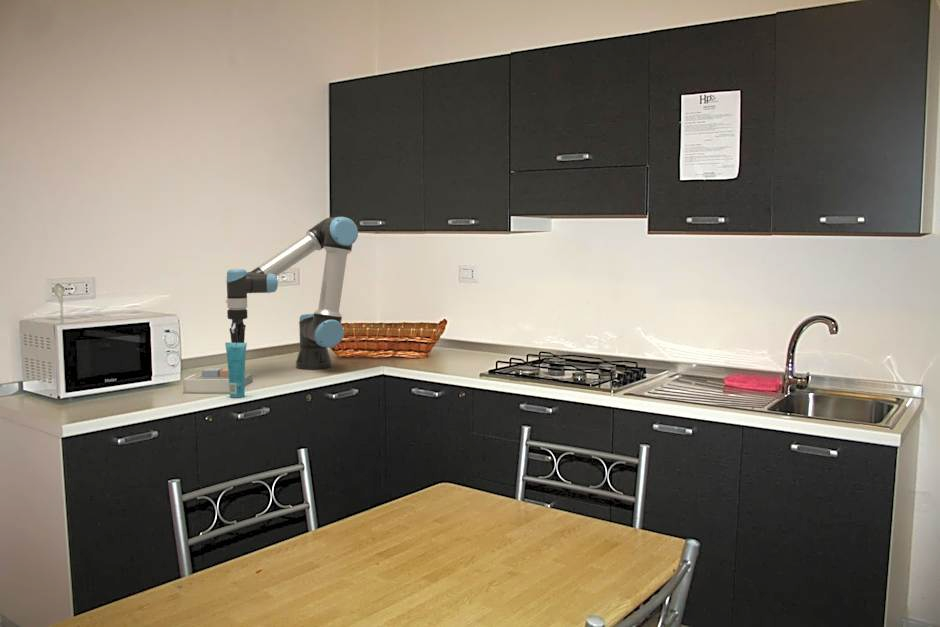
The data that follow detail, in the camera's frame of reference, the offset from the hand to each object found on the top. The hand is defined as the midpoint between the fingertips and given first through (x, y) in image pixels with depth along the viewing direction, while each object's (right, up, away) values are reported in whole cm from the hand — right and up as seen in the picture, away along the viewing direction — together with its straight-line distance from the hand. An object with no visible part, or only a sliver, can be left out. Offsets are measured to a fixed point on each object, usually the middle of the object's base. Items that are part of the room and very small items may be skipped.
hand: (238, 368), depth 320 cm
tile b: (-7, -2, -10) cm, 12 cm away
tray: (-3, -7, -23) cm, 24 cm away
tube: (+9, -8, -34) cm, 36 cm away
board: (-2, -5, -11) cm, 13 cm away
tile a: (0, -2, -10) cm, 10 cm away
